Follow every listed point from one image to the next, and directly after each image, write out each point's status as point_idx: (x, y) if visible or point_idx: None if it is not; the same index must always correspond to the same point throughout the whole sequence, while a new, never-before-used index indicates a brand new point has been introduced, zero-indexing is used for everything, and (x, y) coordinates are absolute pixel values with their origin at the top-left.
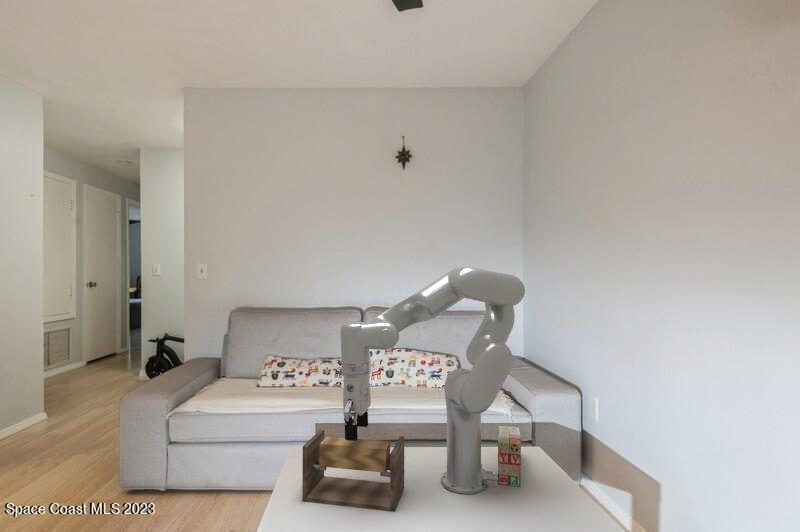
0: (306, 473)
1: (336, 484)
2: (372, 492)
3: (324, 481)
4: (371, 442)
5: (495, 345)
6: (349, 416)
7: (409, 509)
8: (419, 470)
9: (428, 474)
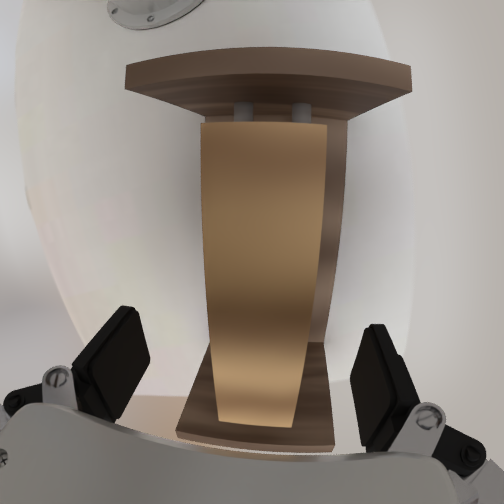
0: (328, 384)
1: None
2: None
3: None
4: (236, 237)
5: None
6: (490, 472)
7: None
8: (107, 97)
9: (124, 68)
